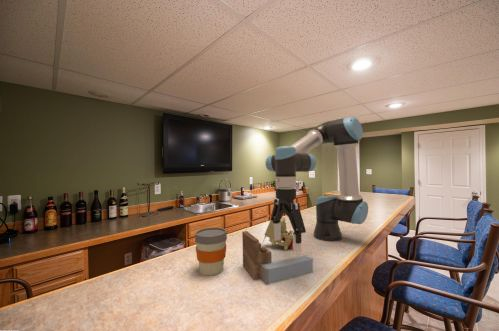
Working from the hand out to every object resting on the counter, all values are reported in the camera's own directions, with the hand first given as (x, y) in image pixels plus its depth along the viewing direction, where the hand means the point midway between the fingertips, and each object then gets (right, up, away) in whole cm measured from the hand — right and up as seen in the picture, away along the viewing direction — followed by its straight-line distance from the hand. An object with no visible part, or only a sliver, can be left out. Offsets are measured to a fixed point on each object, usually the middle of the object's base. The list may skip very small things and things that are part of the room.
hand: (286, 245), depth 78 cm
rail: (0, -11, 0) cm, 11 cm away
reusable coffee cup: (-29, -12, +6) cm, 32 cm away
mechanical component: (+4, -12, +28) cm, 30 cm away
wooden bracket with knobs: (-10, -11, +5) cm, 16 cm away
